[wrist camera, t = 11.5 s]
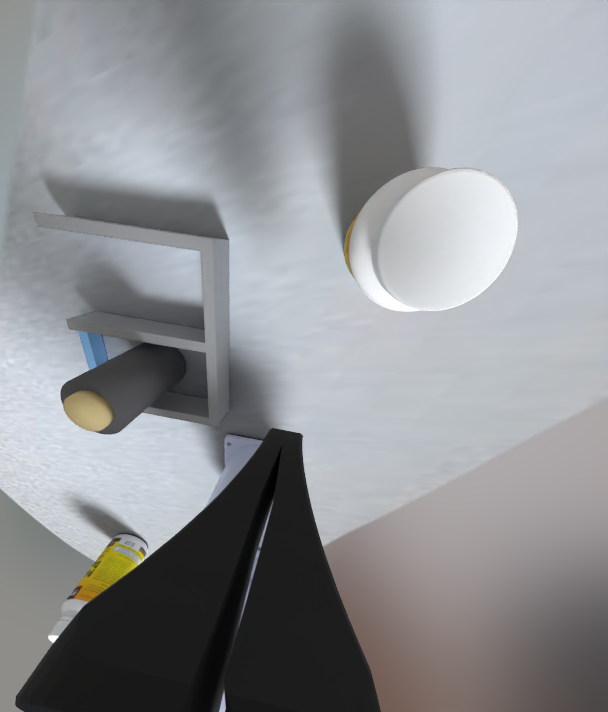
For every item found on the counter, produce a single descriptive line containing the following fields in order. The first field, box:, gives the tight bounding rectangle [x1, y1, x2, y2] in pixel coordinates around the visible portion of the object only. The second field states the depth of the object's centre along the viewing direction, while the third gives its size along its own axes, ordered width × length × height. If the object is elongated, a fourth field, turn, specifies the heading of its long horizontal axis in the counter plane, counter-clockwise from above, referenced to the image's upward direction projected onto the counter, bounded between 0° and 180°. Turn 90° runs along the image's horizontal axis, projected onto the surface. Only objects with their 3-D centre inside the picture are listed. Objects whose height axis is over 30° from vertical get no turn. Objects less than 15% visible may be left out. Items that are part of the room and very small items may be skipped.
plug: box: [61, 342, 186, 434], centre depth 19 cm, size 4×4×8 cm
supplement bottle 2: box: [344, 167, 518, 312], centre depth 12 cm, size 5×5×10 cm
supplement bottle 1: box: [48, 534, 148, 643], centre depth 32 cm, size 6×6×10 cm
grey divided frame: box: [33, 212, 229, 427], centre depth 19 cm, size 15×13×2 cm
